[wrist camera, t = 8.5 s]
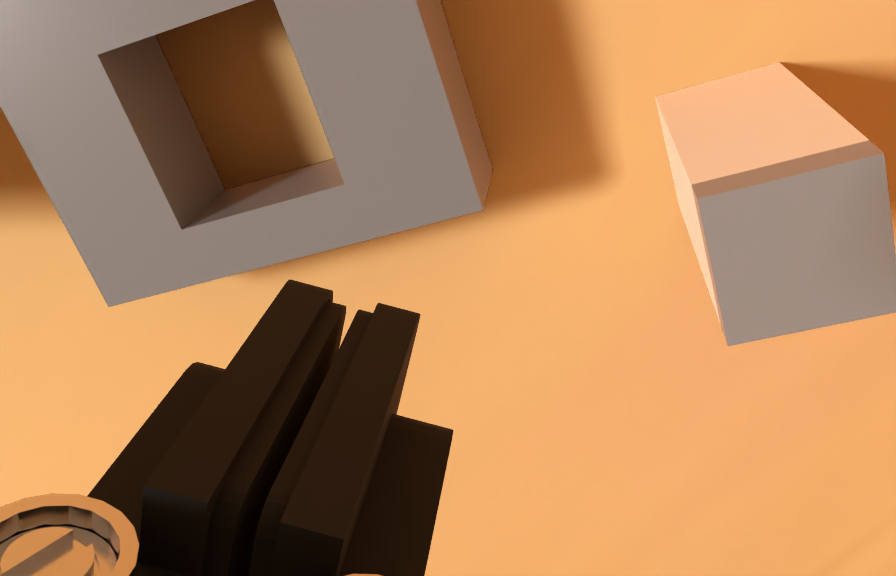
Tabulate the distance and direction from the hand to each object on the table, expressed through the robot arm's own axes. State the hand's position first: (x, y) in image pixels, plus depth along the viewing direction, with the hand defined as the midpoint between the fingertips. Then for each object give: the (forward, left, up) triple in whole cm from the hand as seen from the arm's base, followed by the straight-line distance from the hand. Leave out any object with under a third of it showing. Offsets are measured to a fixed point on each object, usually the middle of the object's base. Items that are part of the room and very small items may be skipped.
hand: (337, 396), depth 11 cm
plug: (-5, -7, -20) cm, 22 cm away
